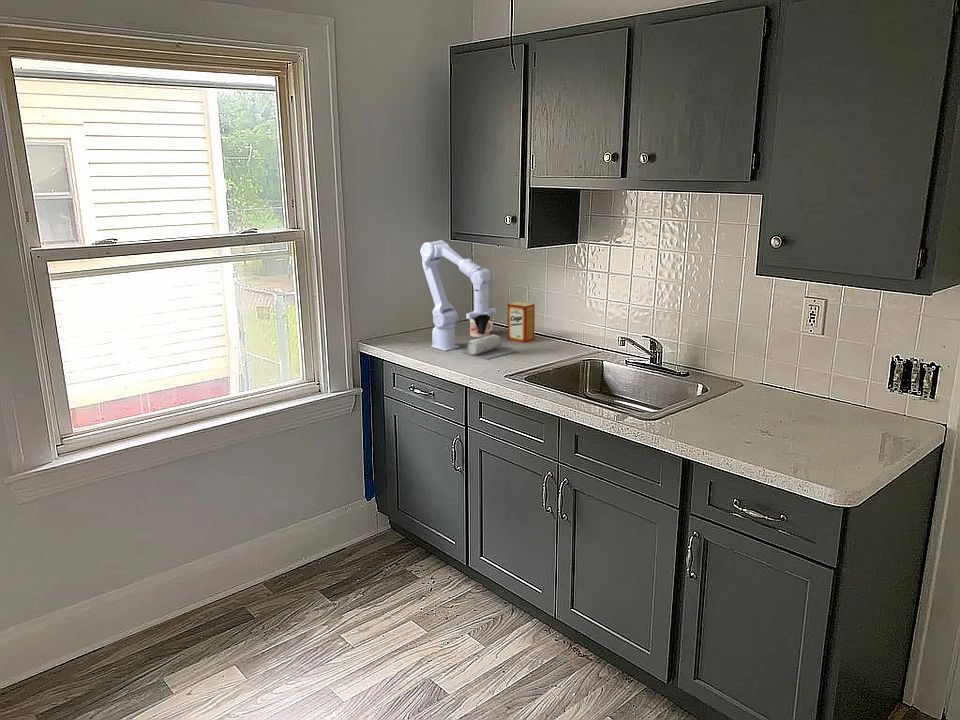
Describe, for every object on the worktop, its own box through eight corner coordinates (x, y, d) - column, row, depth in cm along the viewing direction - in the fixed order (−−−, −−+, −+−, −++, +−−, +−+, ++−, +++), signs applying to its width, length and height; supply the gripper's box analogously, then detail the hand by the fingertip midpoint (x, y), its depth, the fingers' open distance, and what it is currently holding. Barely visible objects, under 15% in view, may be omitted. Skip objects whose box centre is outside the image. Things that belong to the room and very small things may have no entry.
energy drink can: (479, 353, 291) (504, 346, 302) (474, 338, 292) (499, 332, 302) (469, 357, 296) (494, 349, 306) (464, 342, 296) (489, 335, 306)
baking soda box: (507, 339, 321) (507, 303, 316) (516, 336, 326) (516, 300, 321) (525, 342, 315) (525, 305, 311) (534, 339, 320) (534, 303, 315)
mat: (462, 352, 300) (462, 351, 300) (492, 345, 311) (492, 344, 311) (487, 359, 289) (487, 358, 289) (518, 351, 300) (518, 350, 300)
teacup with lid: (465, 335, 328) (464, 309, 325) (478, 331, 335) (478, 306, 332) (486, 339, 321) (486, 313, 318) (499, 335, 327) (499, 309, 324)
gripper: (474, 304, 284) (475, 338, 288) (501, 298, 293) (501, 332, 297) (462, 301, 289) (462, 335, 293) (489, 296, 298) (489, 329, 302)
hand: (481, 333), depth 295 cm, fingers closed
